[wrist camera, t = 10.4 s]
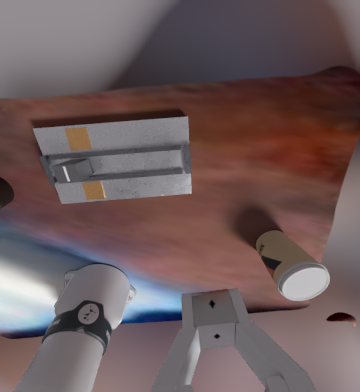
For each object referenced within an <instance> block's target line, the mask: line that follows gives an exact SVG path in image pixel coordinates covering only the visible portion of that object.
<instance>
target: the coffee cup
mask: <svg viewBox="0 0 360 392" xmlns="http://www.w3.org/2000/svg"><path fill="white" fill-rule="evenodd" d="M256 249H257V251H258V253H259V255H260V257H261V259H262V260H263V262H264V264H265V266H266V268H267V270H268V271H269V273H270V275H271V277H272V278H273V280H274V282H275V284H276V285H277V288H278V290H279V292H280V293H281V294H282V295H283V296H285V297H286V298H287V299H290V300H293V301H303V300H308V299H311V298H313V297H315V296H317V295H319V294H320V293H322V292H323V291H324V289H326V287H327V286H328V284H329V281H330V276H329V273H328V271H327V269H326V268H325V267H324V266H323V265H322V264H320V263H318V262H317V261H316V260H315V259H314V258H313V257H312V256H310V255H309V254H308V253H307V252H306V251H304V250H303V249H302V248H301V247H300V246H299V245H297V244H296V243H295V242H294V241H292V240H291V239H290V238H289V237H288V236H286V235H285V234H284V233H282V232H281V231H277V230H272V231H268V232H266V233H264V234H262V235H261V236H260V237H259V238H258V240H257V242H256Z"/></svg>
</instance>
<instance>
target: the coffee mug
mask: <svg viewBox="0 0 360 392" xmlns="http://www.w3.org/2000/svg"><path fill="white" fill-rule="evenodd" d="M13 198H14V192H13V189H12V187H11V186H10V185H9V183H7V182H6V181H5V180H4V179H2V178H0V209H1V208H2V207H4V206H5V205H7V204H8V203H10V202H11V201H12V200H13Z"/></svg>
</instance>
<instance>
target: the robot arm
mask: <svg viewBox="0 0 360 392" xmlns="http://www.w3.org/2000/svg"><path fill="white" fill-rule="evenodd" d="M135 295H136V291H135V289H134V288H133V287H132V286H131V285H130V283H129V280H128V278H127V277H126V276H125V274H124V273H122V272H121V271H120V270H118V269H116V268H114V267H112V266H108V265H103V264H93V265H88V266H85V267H83V268H81V269H79V270H75V271H69V272H67V273H66V274H65V276H64V290H63V292H62V293H61V295H60V297H59V298H58V300H57V302H56V303H55V306H54V307H55V314H56V317H55V319H54V320H53V322H52V323H51V325H50V326H49V327H48V329H47V331H46V334H45V335H44V337H43V339H42V345H41V347H40V348H39V350H38V352H37V353H36V355H35V357H34V358H33V360H32V362H31V363H30V365H29V367H28V368H27V370H26V372H25V373H24V375H23V377H22V379H21V380H20V382H19V383H18V385H17V387H16V389H15V390H14V392H92V389H93V385H94V382H95V378H96V374H97V371H98V367H99V364H100V361H101V357H102V356H103V355H104V353H105V351H106V348H107V346H108V344H109V341H110V336H111V332H112V329H116V327H117V325H119V324H120V323H121V321H122V318H123V315H124V311H125V308H126V306H127V305H128V303H129V302H130V301H131V300H132V299H133V298H134V297H135ZM182 321H183V329H180V330H179V332H178V334H177V336H176V338H175V340H174V342H173V344H172V346H171V348H170V351H169V353H168V355H167V357H166V359H165V361H164V363H163V365H162V367H161V369H160V371H159V373H158V375H157V377H156V379H155V382H154V384H153V386H152V392H194V389H193V388H192V386H190V383H191V380H192V376H193V373H194V370H195V367H196V364H197V361H198V357H199V354H200V349H207V348H214V347H227V346H235V348H236V349H237V350H238V352H239V353H240V354H241V356H242V357H243V359H244V360H245V361H246V363H247V364H248V365H249V367H250V368H251V369H252V371H253V372H254V373H255V375H256V376H257V377H258V379H259V380H260V381H261V383H262V384H263V385H264V387H265V392H317V391H316V389H315V387H314V385H313V383H312V381H311V379H310V377H309V375H308V374H307V372H306V371H305V370H304V369H303V368H302V367H301V366H300V365H299V364H298V363H297V362H296V361H295V360H293V359H292V358H291V357H290V356H289V355H288V354H287V353H286V352H285V351H284V350H283V349H282V348H281V347H280V346H279V345H278V344H277V343H276V342H275V341H274V340H273V339H271V338H270V336H268V335H267V334H266V333H265V332H264V331H263V330H262V329H261V328H260V327H259V326H258V325H257V324H256V323H255V322H251V321H250V318H249V316H248V313H247V311H246V308H245V305H244V303H243V300H242V298H241V295H240V293H239V290H238V289H237V288H234V289H223V290H215V291H209V292H198V293H187V294H182Z"/></svg>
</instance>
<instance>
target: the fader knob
mask: <svg viewBox="0 0 360 392" xmlns="http://www.w3.org/2000/svg"><path fill="white" fill-rule="evenodd" d="M52 168H53V170H54V173H55V176H56V178H57V181H58V183H68V182H80V181H82V180H84V179H86V178H87V177H89V176H91V175H92V174H93V173H92V169H91V166H90V162H89V159H81V160H68V161H65V162H62V163H59V164H57V165H54V166H52Z"/></svg>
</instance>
